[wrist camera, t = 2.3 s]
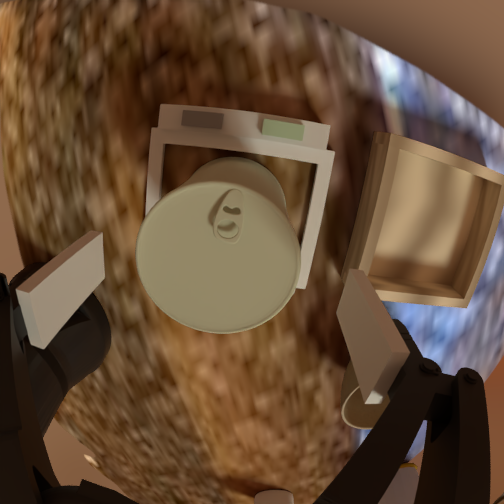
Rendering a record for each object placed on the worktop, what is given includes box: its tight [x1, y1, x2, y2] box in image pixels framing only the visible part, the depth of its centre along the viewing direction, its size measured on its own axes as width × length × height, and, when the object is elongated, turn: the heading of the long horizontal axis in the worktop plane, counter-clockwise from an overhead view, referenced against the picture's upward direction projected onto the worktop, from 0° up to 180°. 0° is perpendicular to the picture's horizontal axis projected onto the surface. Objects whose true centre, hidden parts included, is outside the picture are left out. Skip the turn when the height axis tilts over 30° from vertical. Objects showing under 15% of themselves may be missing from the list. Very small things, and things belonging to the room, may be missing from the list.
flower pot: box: [341, 360, 390, 429], centre depth 30 cm, size 10×10×7 cm
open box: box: [340, 131, 504, 308], centre depth 25 cm, size 14×14×4 cm
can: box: [135, 157, 301, 334], centre depth 22 cm, size 9×9×12 cm
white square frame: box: [146, 104, 335, 294], centre depth 25 cm, size 15×15×3 cm
